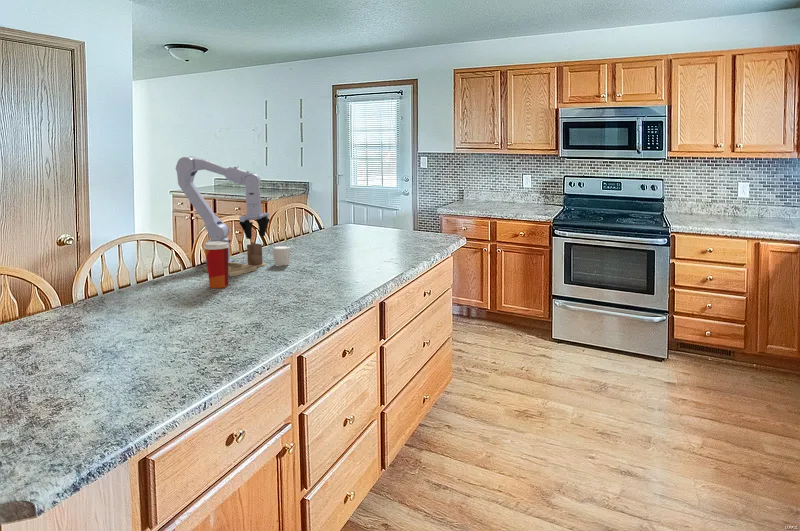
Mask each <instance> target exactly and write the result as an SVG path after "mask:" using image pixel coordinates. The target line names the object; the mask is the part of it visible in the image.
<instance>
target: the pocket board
mask: <svg viewBox="0 0 800 531" xmlns="http://www.w3.org/2000/svg"><path fill="white" fill-rule="evenodd" d="M257 270H258V267H253V266H246V265H244V264H243V263H239V262H235V261H233V262H228V275H230V277H236V276H240V275H243V273H244V274H247V272H248V273H251V271H252V272H255V271H257ZM202 271H203V272H205V273H208V269H207V266H206V267H203V268H202Z"/></svg>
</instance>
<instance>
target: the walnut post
mask: <svg viewBox="0 0 800 531" xmlns="http://www.w3.org/2000/svg"><path fill="white" fill-rule="evenodd" d="M262 248H263V245H262V244H261V243H250V244H247V245H246V255H247V263H248V265H253V266H257V265H261V264H263V263H264V262H263V249H262Z"/></svg>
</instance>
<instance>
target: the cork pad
mask: <svg viewBox="0 0 800 531" xmlns="http://www.w3.org/2000/svg"><path fill="white" fill-rule="evenodd" d="M243 265H246V266H253V265H248V262H247V263H245V264H243ZM261 266H262V267H264V266H266V263H265V262H263V264H261V265H257V266H253V267H257V268H261Z"/></svg>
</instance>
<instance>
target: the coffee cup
mask: <svg viewBox="0 0 800 531" xmlns="http://www.w3.org/2000/svg"><path fill="white" fill-rule="evenodd" d="M228 247H229V248H230V244H229V245H228V243H227V242H222V241H215V242H208V243H206V242H205V243H204V246H203V249H204V253H205V254H206V256H205V261H206V262H205V263H206V267H207V269H208V272H207V276H208V282H209V288H211V289H216V288H217V289H224V288H223V287H225V288H228V287H227V286H229V276H228ZM205 254H204V255H205Z"/></svg>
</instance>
